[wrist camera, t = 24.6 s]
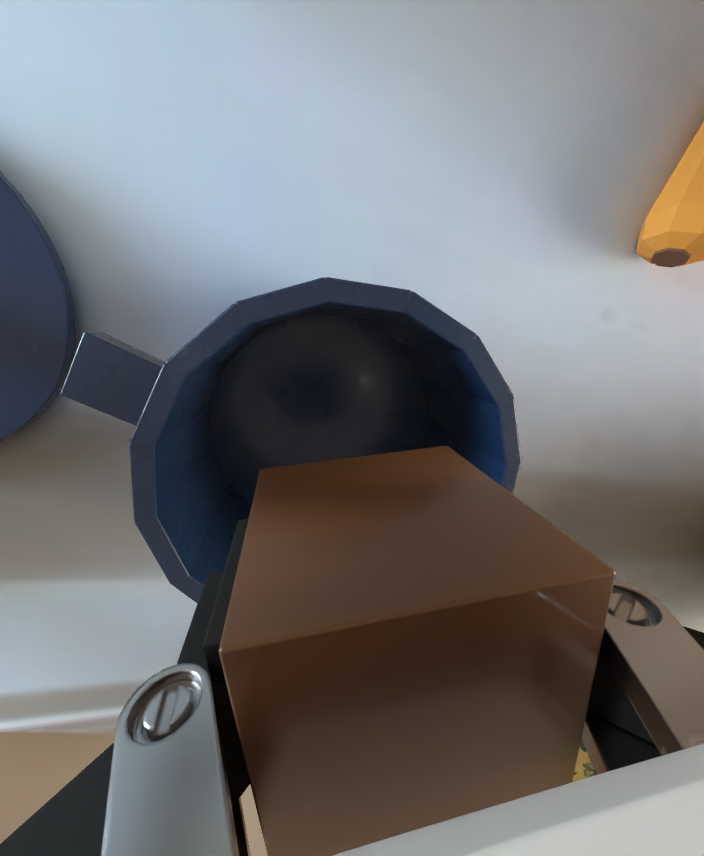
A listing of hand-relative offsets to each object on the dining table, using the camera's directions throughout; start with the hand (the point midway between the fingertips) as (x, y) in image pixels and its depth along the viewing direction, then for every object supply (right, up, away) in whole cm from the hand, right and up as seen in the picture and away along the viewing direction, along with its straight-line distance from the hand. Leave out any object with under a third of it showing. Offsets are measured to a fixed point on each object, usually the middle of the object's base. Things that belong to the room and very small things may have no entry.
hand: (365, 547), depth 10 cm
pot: (-2, +4, +12) cm, 13 cm away
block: (0, 0, 0) cm, 0 cm away
